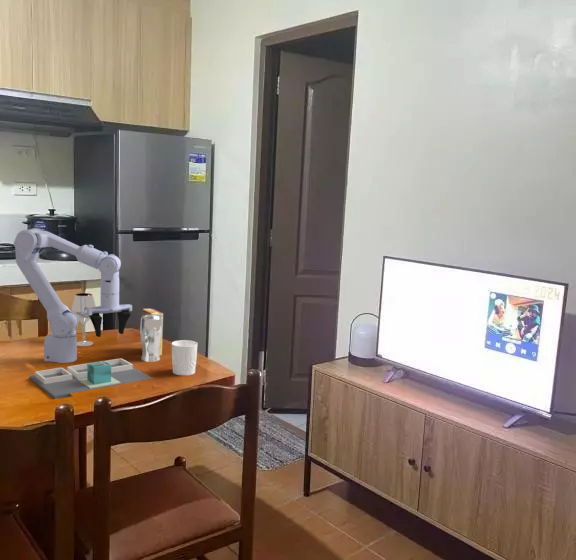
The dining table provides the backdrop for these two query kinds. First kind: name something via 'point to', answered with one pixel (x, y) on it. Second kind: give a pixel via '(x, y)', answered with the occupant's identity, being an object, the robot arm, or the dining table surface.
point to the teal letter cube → (99, 372)
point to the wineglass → (83, 312)
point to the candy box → (155, 312)
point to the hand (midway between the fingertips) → (109, 334)
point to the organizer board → (84, 378)
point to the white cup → (184, 357)
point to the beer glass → (150, 337)
